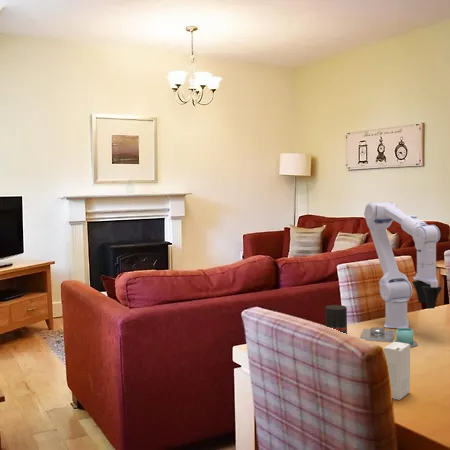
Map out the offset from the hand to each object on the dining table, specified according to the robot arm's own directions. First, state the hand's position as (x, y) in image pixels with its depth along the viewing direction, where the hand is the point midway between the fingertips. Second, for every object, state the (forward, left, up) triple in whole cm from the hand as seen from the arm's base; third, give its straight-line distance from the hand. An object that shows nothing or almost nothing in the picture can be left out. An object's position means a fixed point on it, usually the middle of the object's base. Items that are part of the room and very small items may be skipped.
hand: (426, 305), depth 175 cm
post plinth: (+3, -15, -10) cm, 18 cm away
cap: (+9, -6, -10) cm, 15 cm away
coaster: (+9, -6, -10) cm, 15 cm away
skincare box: (+51, -6, -11) cm, 52 cm away
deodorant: (+28, -24, -11) cm, 38 cm away
